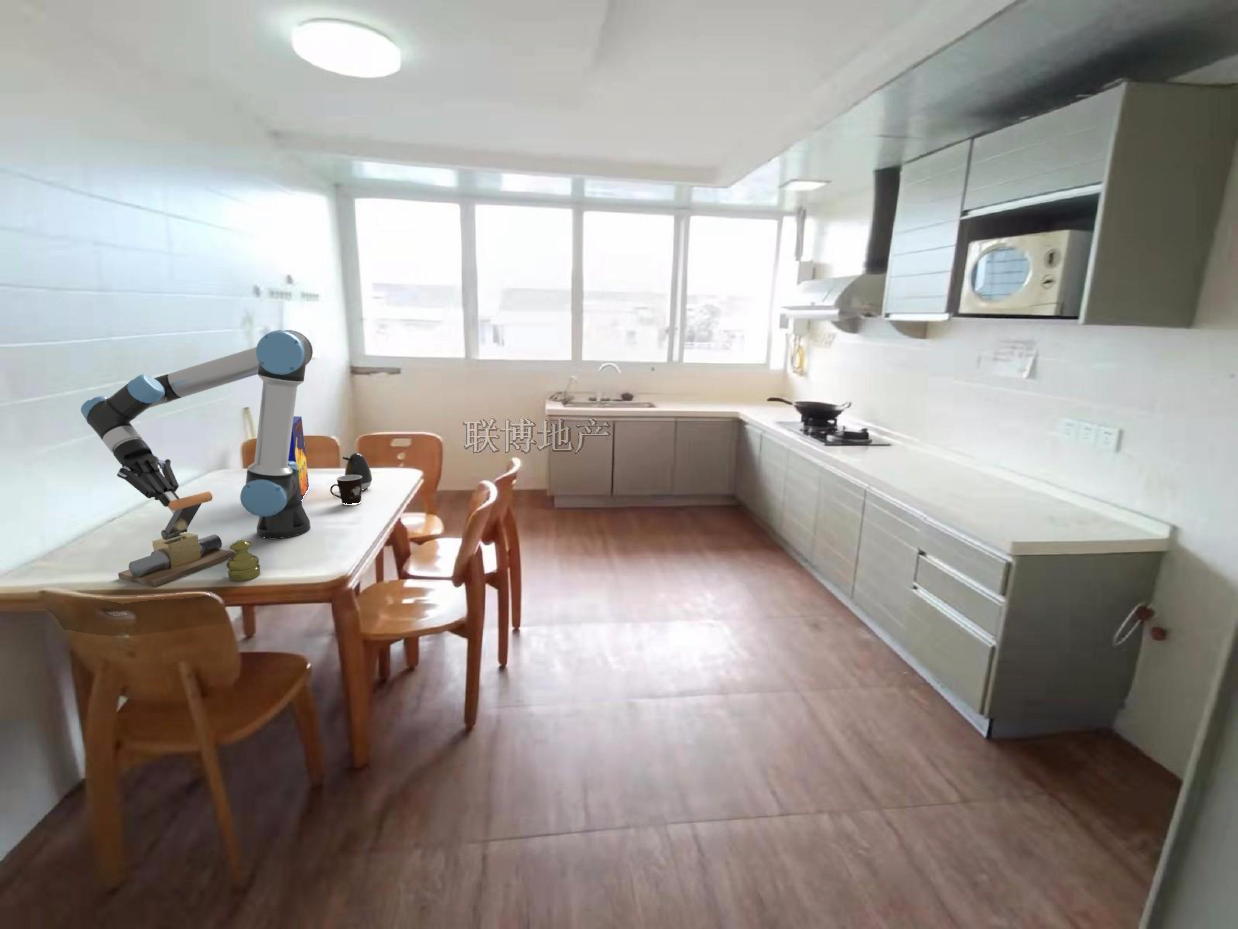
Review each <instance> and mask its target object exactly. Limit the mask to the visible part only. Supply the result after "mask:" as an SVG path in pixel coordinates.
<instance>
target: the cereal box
mask: <svg viewBox="0 0 1238 929" xmlns="http://www.w3.org/2000/svg"><path fill="white" fill-rule="evenodd" d="M304 436H305V435H304V428H303V418H302V416H300V415H299V416H298V415H297V416H296V415H294V417H293V425H292V433H291V442H290V450H289V458H288V461H294V462H296V463H297V466H298V470H299V482H300V491H301V500H302V499H303V496H304V495H305V493H306V491H307V490H308V487H309V488H310V486H309V484H310V483H309V475H308V466H307V457H306V455H307V454H306V447H305V446H306V445H305V437H304Z"/></svg>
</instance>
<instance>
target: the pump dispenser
mask: <svg viewBox="0 0 1238 929" xmlns="http://www.w3.org/2000/svg"><path fill="white" fill-rule="evenodd" d="M342 460H345V461H347V462H346V466H345V469H344V476H345V475H360V476H362V489H366V488H367V489H369V488H368V487H370V486H371V484H372V481H373V476H372V472H371V471H372V470H371V469H370V466H369V463H368V461H367V459H366V458H365V456H364V455H363V454H362V453H359V452H354V453H352V454H351V455H350V456H342ZM367 489H366V490H367Z"/></svg>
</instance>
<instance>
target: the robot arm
mask: <svg viewBox="0 0 1238 929" xmlns="http://www.w3.org/2000/svg"><path fill="white" fill-rule="evenodd" d="M313 352H314V351H313V345H312V343H311V342H310V340H309V339H308V337H307V336H305V335H304V334H303V333H301V332H298V331H296V330H289V329H287V330H286V329H285V330H281V329H280V330H279V329H278V330H273V331H269V332H268V333H265V335H263V336H262V337H261V338H260V339H259V340H258V343H257V344H256V347H252V348H249V349H246V350H241V351H240V352H235V353H233V354H229V355H225V356H223V357H219V358H216V359H211V360H209V361H206V362H203V363H199V364H196V365H191V366H189V367H187V368H182V369H179V370H176V371H173V372H169V373H167V374H163V375H160V376H156V377H152V376H150V375H148V374H139V375H138V376H136V377H134V378H133V379H131V380H129V381H128V383H125V385H124V386H123V387H121V388H120V389H119V390H118V391H116V392H115V393H113V395H110V397H108V396H105V395H102V396H101V395H99V396H95V397H92V399H88V400H86V401H85V402H84V403H82V405H81V408H80V413H81V414H82V417H84V419H85V422H86V423H87V424H88V425H89V426H90V427H91V428H92V429H93V430H94V432H95V434H97V435H98V437H99V438H100V440H101V441H102V442H103V443H104V445H105V446H106V447H107V448H108V450H109V451H110V452H111V453H112V455H113V456H114V458H115V459H116V460H117V461H118V463H119V465H121V467H120V468H119V470H118V472H117V474H116V476H117V477H118V478H121V479H123V480H125V481H126V482H127V483H128V484H130V485H131V486H132V487H133V488H134V489H136V490H137V491H138V492H139V493H141V494H142V495H143V496H145V497H146V498H147V499H152V498H154V500H155V501H159V503H160V504H162V506H163V507H164V508H168V509H169V511H171V513H172V515H173V514H174V512H175V511H176V510H171V509H170V508H169V503H170V502H171V501H173V500H177V499H181V498H180V497H179V496H178V494H176V492H177V490H178V489H179V487H180V485H179V483H178V480H177V478H176V476H175V474H174V471H173V468H172V466H171V460H170V459H169V458H168V459H165V460H163V459H159V457H158V456H156V455H154V454H153V452H152V449H151V448H150V447H149V445H148V443H146V441H145V440H144V439H143V438H142V436H141V435H140V433H138V431H137V430H136V429H135V427H133V425H132V424H131V422H132V420H134V419H136V418H137V417H138V416H140V415H141V414H142V413H144V412H145V411H146V410H148V409H149V408H152V407H157V406H160V405H163V404H164V405H165V404H168V403H171V402H172V401H177V400H179V399H181V398H186V397H188V396H191V395H192V396H193V395H195V394H198V393H202V392H204V391H208V390H212V389H214V388H217V387H221V386H224V385H226V384H231V383H234V382H237V381H240V380H243V379H247V378H250V377H253V376H256V375H257V376H258V378H260V379H261V381H262V390H261V400H260V407H259V408H260V409H259V417H258V426H257V434H256V435H257V436H256V444H255V453H254V462H252V463H251V464H249V465H248V466H247V469H246V479H245V485H244V486H243V487H242V488H241V492H240V496H239V499H240V503H241V505H242V507H243V509H245V510H246V511H247V512H249V513H250V514H252V515H254V516H256V517H259V518H258V520H257V525H256V534H258V535H257V536H258V537H259V536H260V537H259V538H262V537H265V538H264V539H269V538H276V539H282V538H281V537H286V538H292V537H295V536H294V535H296V536H298V535H297V534H299V535H302V534H304V532H305V531H307V532H308V531H309V530H311V521H310V519H309V516H308V514H307V513H306V511H305V509H304V507H303V502H302V501H301V491H300V482H299V470H298V466H297V463H296V462H294V461H288V458H289V450H290V442H291V433H292V425H293V417H294V416H295V410H296V409H295V408H296V398H297V391H298V386H300V385H301V384H302V383H304V381H305V374H306V367H307V365H308V364H309V363H310V361H311V360H312V358H313V354H314V353H313ZM160 470H161V471H160ZM301 533H302V534H301ZM305 533H306V532H305ZM291 536H292V537H291Z"/></svg>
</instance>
